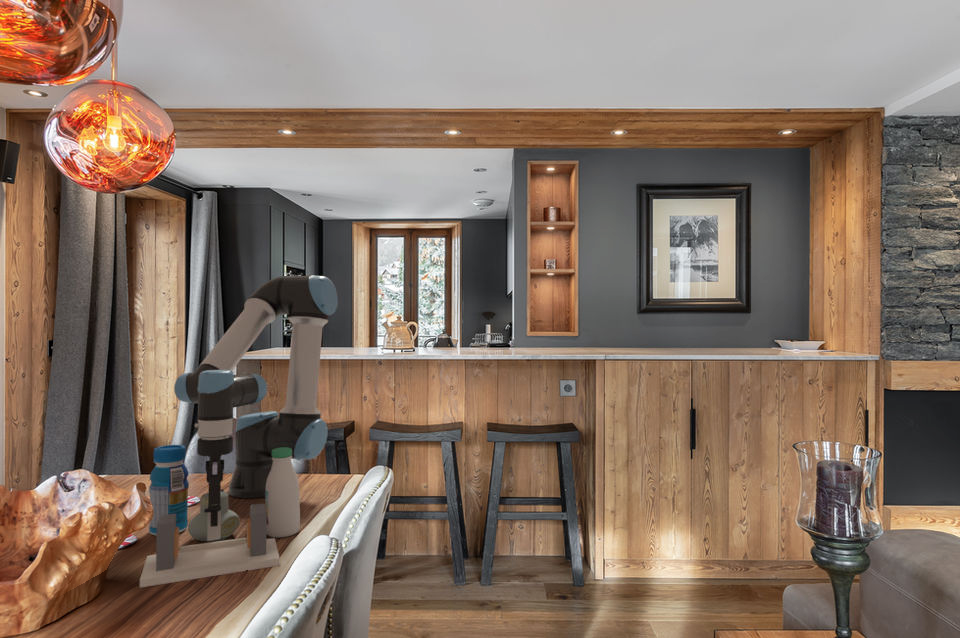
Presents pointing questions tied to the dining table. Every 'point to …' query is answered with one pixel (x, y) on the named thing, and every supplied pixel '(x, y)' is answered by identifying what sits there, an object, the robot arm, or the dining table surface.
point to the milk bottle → (282, 496)
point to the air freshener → (199, 522)
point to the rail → (208, 552)
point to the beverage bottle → (169, 486)
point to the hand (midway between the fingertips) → (214, 530)
